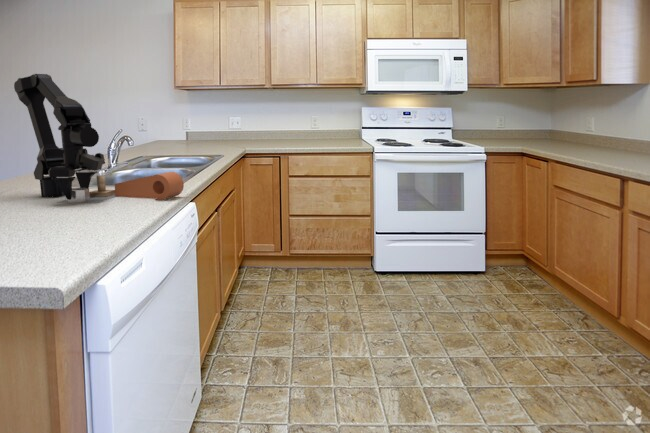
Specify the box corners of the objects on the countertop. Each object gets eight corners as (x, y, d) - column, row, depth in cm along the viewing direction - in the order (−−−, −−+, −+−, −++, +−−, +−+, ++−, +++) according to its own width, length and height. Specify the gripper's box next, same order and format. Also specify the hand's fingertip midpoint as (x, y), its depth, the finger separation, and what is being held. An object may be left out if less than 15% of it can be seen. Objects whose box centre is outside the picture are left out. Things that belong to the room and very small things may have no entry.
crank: (183, 197, 184) (183, 172, 182) (170, 201, 177) (169, 175, 175) (130, 192, 190) (129, 168, 188) (115, 196, 182) (114, 171, 181)
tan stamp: (88, 197, 181) (86, 176, 180) (97, 194, 187) (96, 174, 186) (106, 197, 181) (105, 176, 179) (115, 194, 186) (113, 174, 185)
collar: (62, 202, 172) (61, 190, 171) (73, 198, 178) (72, 187, 178) (82, 202, 171) (81, 190, 171) (93, 198, 178) (92, 187, 177)
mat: (56, 204, 172) (56, 202, 171) (85, 195, 188) (85, 193, 188) (98, 204, 170) (97, 202, 170) (123, 195, 187) (123, 194, 187)
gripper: (82, 148, 162) (87, 202, 165) (113, 143, 180) (116, 192, 183) (44, 148, 163) (50, 202, 166) (79, 143, 181) (83, 192, 184)
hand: (77, 197), depth 175 cm, fingers open, 9 cm apart
